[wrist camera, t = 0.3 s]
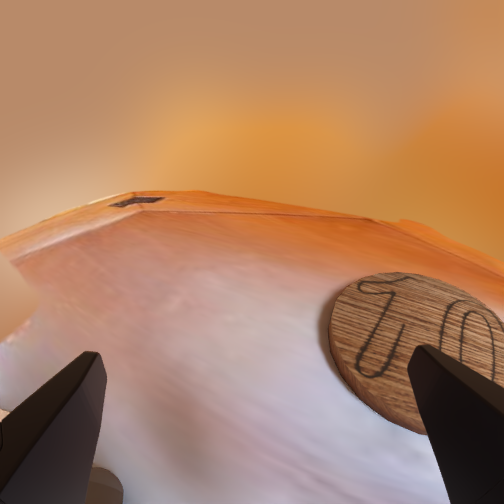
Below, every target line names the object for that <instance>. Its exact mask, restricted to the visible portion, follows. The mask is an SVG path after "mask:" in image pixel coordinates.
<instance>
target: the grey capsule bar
mask: <svg viewBox="0 0 504 504" xmlns="http://www.w3.org/2000/svg"><path fill="white" fill-rule="evenodd" d="M122 503H123V487H122V484H121V482H120V481H119V479H118V478H117V477H116V476H115V475H114V474H113V473H111V472H110V471H108V470H106V469H102V468H92V469H91V474H90V479H89V484H88V489H87V495H86V500H85V504H122Z"/></svg>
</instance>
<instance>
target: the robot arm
mask: <svg viewBox="0 0 504 504" xmlns="http://www.w3.org/2000/svg"><path fill="white" fill-rule="evenodd" d="M407 373H408V376H409V380H410V383H411V386H412V390H413V393H414V397H415V400H416V404H417V407H418V411H419V414H420V417H421V419H422V422H423V424H424V427H425V430H426V432H427V435H428V438H429V440H430V443H431V446H432V449H433V452H434V454H435V457H436V460H437V463H438V466H439V469H440V472H441V475H442V478H443V481H444V484H445V487H446V490H447V493H448V497H449V500H450V503H451V504H504V388H503V387H502V386H500V385H498V384H497V383H495V382H493V381H492V380H490V379H488V378H486V377H485V376H483V375H481V374H480V373H478V372H476V371H474V370H473V369H471V368H469V367H468V366H466V365H464V364H463V363H461V362H459V361H457V360H456V359H454V358H452V357H451V356H449V355H447V354H445V353H444V352H442V351H440V350H439V349H437V348H435V347H433V346H432V345H430V344H422V345H418V346H416V347H415V349H414V351H413V354H412V356H411V358H410V360H409V363H408V365H407ZM106 383H107V374H106V371H105V368H104V364H103V361H102V358H101V355H100V354H99V353H98V352H92V351H85V352H83V353H82V354H81V355H79V356H78V357H77V358H76V359H74V360H73V361H72V362H71V363H70V364H68V365H67V366H66V367H65V368H63V369H62V370H61V371H60V372H58V373H57V374H56V375H55V376H54V377H52V378H51V379H50V380H49V381H47V382H46V383H45V384H44V385H43V386H41V387H40V388H39V389H38V390H37V391H35V392H34V393H33V394H32V395H31V396H29V397H28V398H27V399H26V400H25V401H23V402H22V403H21V404H20V405H19V406H17V407H16V408H15V409H14V410H13V411H11V412H10V413H9V414H8V415H7V416H6V417H4V418H3V419H2V420H1V422H0V504H85V500H86V495H87V489H88V484H89V479H90V474H91V469H92V464H93V459H94V455H95V450H96V446H97V441H98V437H99V432H100V427H101V420H102V412H103V404H104V397H105V390H106Z"/></svg>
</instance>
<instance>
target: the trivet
mask: <svg viewBox="0 0 504 504" xmlns="http://www.w3.org/2000/svg"><path fill="white" fill-rule="evenodd" d="M328 335H329V345H330V352H331V354H332V356H333V359H334V361H335V363H336V366H337V368H338V370H339V372H340V375H341V376H342V378H343V379H344V380H345V381H346V382H347V384H348V385H349V386H350V387H351V389H352V390H353V391H354V392H355V394H356V395H357V396H358V397H359V399H360V400H361V401H363V402H364V403H365V404H367V405H368V406H369V407H370V408H372V409H373V410H374V411H376V412H377V413H378V414H380V415H381V416H382V417H384V418H385V419H386V420H388V421H390V422H392V423H394V424H397V425H399V426H401V427H404V428H406V429H408V430H411V431H413V432H415V433H418V434H422V435H427V432H426V430H425V427H424V424H423V422H422V419H421V417H420V414H419V411H418V407H417V404H416V400H415V397H414V393H413V390H412V386H411V383H410V380H409V376H408V373H407V365H408V363H409V360H410V358H411V356H412V354H413V351H414V349H415V347H416V346H418V345H422V344H430V345H432V346H433V347H435V348H437V349H439V350H440V351H442V352H444V353H445V354H447V355H449V356H451V357H452V358H454V359H456V360H457V361H459V362H461V363H463V364H464V365H466V366H468V367H469V368H471V369H473V370H474V371H476V372H478V373H480V374H481V375H483V376H485V377H486V378H488V379H490V380H492V381H493V382H495V383H497V384H498V385H500V386H502V387H503V388H504V323H503V322H502V320H501V319H500V318H499V317H498V316H497V315H496V314H495V313H494V312H493V311H492V310H491V309H490V308H488V307H487V306H486V305H485V304H483V303H482V302H481V301H480V300H478V299H477V298H476V297H474V296H472V295H470V294H469V293H467V292H465V291H464V290H462V289H460V288H458V287H456V286H453V285H451V284H449V283H446V282H444V281H441V280H439V279H435V278H431V277H427V276H423V275H419V274H411V273H401V272H394V273H379V274H375V275H371V276H368V277H364V278H361V279H359V280H358V281H356V282H354V283H353V284H351V285H349V286H348V287H346V289H345V290H344V291H343V292H342V294H341V295H340V296H339V297H338V298H337V300H336V302H335V306H334V310H333V313H332V317H331V320H330V324H329V327H328Z"/></svg>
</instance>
